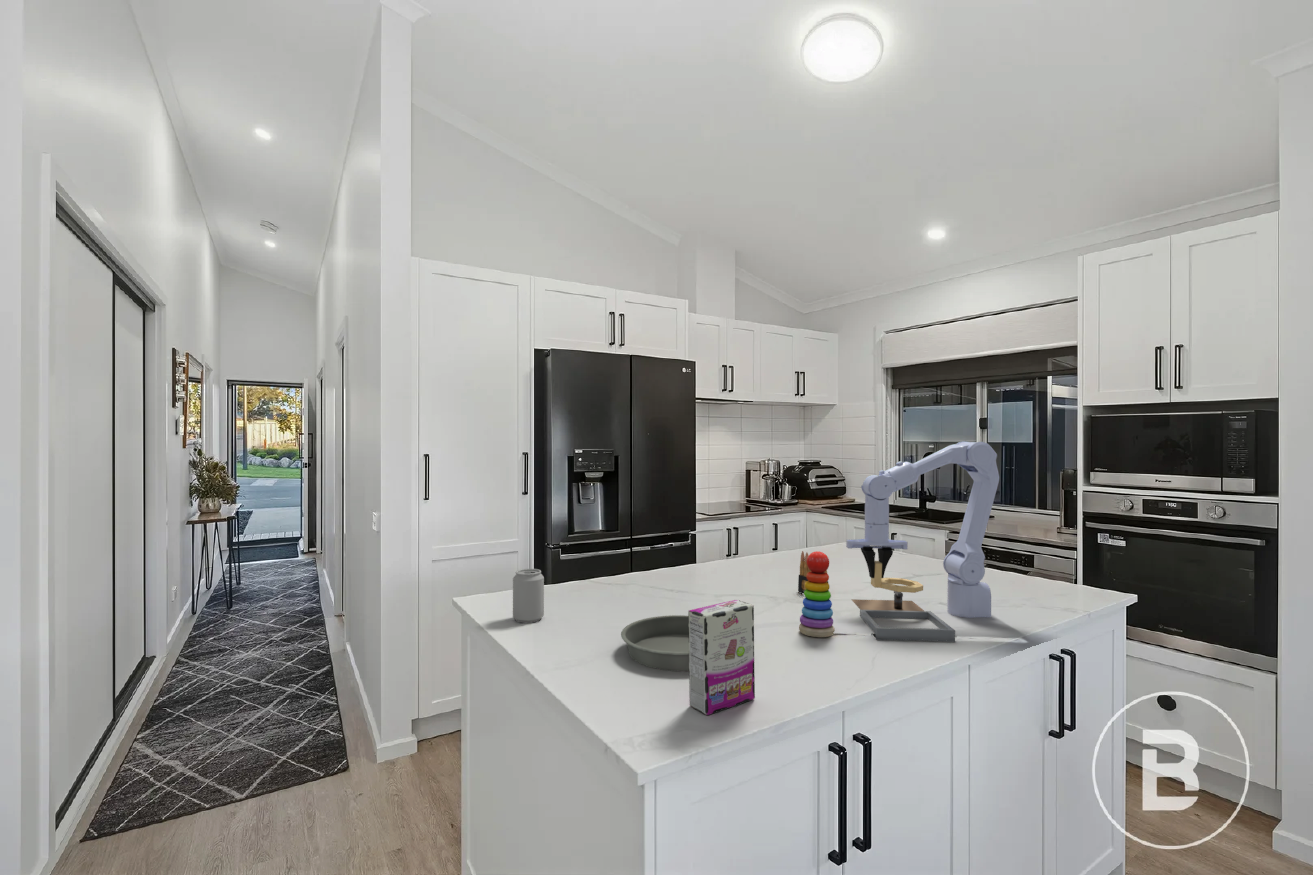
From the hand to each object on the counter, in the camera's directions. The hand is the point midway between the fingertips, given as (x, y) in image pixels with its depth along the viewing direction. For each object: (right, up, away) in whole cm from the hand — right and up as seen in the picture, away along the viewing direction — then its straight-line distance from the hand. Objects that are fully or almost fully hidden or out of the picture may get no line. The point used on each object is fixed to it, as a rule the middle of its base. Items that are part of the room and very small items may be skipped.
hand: (876, 577), depth 158 cm
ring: (+6, -2, 0) cm, 6 cm away
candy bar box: (-44, -10, -51) cm, 68 cm away
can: (-87, -10, -3) cm, 87 cm away
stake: (+7, -9, +4) cm, 12 cm away
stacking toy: (-18, -10, -13) cm, 25 cm away
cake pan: (-50, -10, -26) cm, 58 cm away
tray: (+3, -10, -11) cm, 15 cm away
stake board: (+5, -10, +5) cm, 12 cm away
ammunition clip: (-11, -10, +20) cm, 25 cm away
